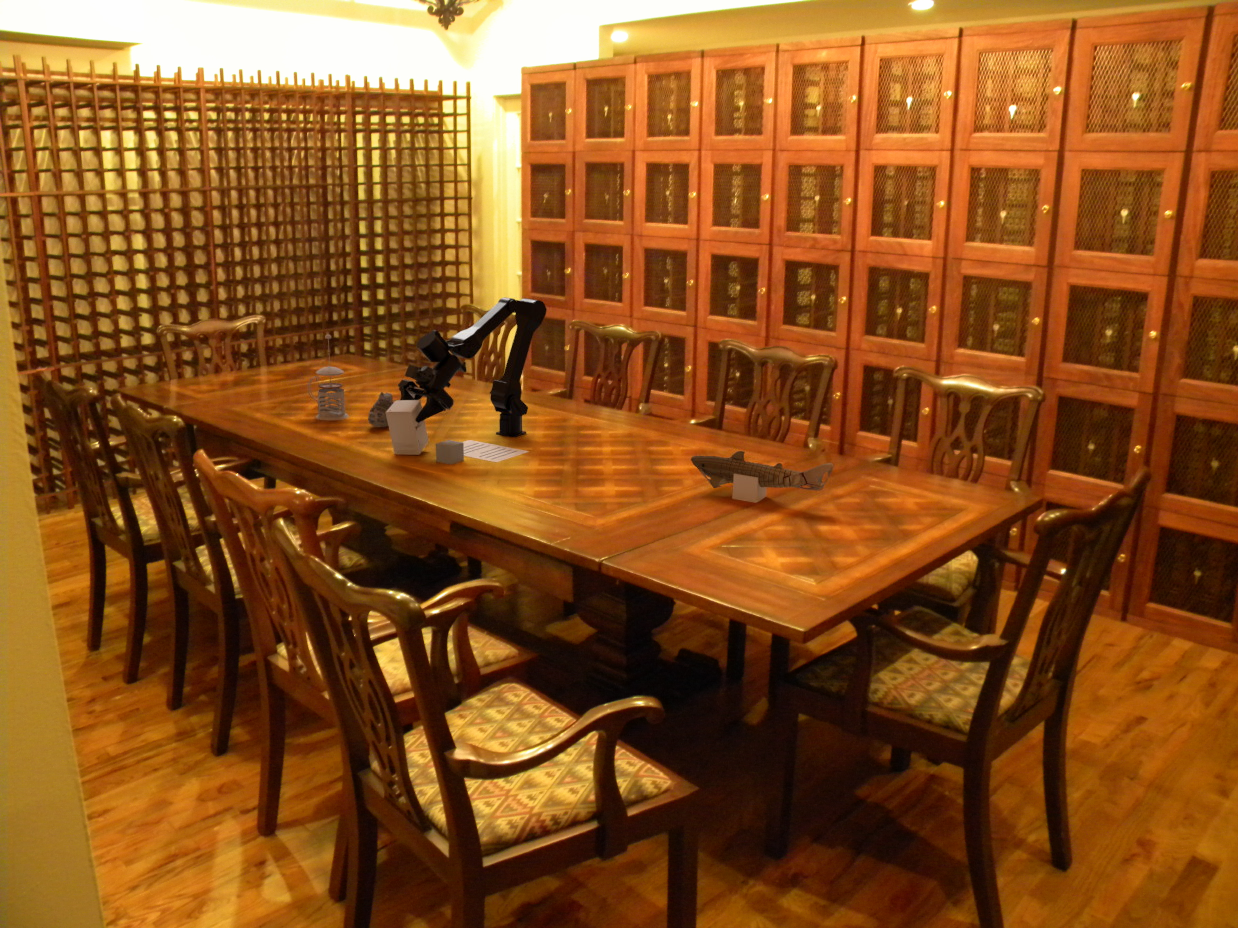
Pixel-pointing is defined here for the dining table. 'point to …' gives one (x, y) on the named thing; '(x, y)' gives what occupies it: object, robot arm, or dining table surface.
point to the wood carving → (756, 476)
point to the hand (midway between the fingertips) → (406, 418)
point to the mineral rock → (380, 410)
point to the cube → (449, 452)
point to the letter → (489, 451)
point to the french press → (330, 394)
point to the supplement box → (406, 427)
